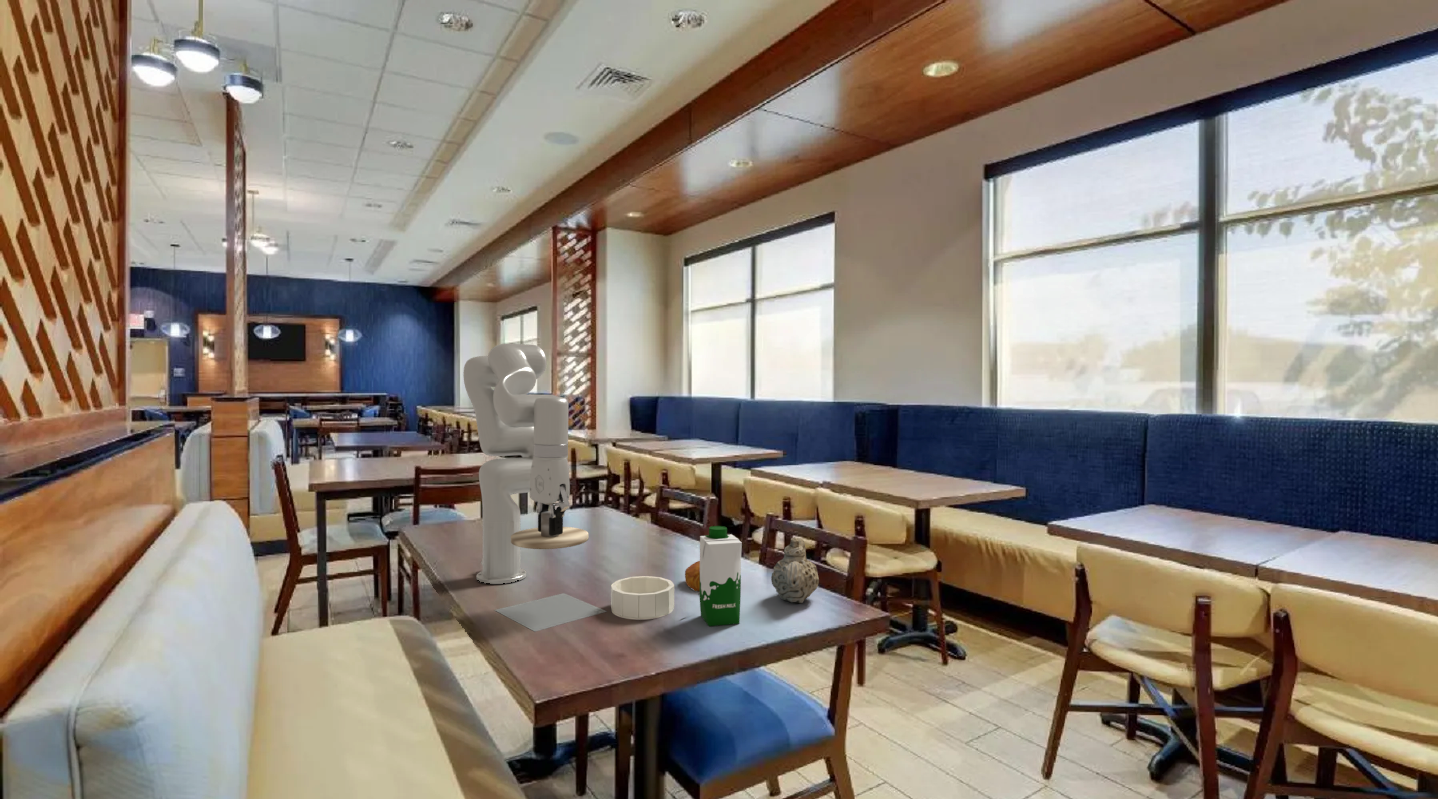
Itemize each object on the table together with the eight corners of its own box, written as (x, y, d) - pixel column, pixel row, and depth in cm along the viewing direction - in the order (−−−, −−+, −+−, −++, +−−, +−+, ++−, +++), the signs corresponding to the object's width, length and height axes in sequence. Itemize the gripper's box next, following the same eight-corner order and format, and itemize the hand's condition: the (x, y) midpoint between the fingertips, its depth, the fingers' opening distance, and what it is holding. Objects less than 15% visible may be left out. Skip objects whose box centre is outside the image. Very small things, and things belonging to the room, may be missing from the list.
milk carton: (733, 611, 156) (733, 524, 155) (744, 625, 147) (745, 533, 147) (695, 614, 154) (696, 526, 153) (705, 628, 145) (706, 535, 144)
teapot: (816, 615, 154) (817, 549, 154) (765, 611, 156) (766, 546, 156) (821, 587, 175) (822, 529, 174) (776, 584, 177) (777, 526, 177)
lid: (496, 538, 153) (496, 512, 153) (562, 527, 165) (562, 502, 165) (535, 553, 141) (535, 524, 141) (603, 540, 153) (603, 513, 153)
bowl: (599, 610, 156) (599, 584, 155) (647, 597, 165) (647, 572, 165) (637, 626, 146) (637, 599, 145) (685, 611, 155) (686, 585, 155)
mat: (494, 612, 154) (494, 610, 154) (563, 595, 166) (563, 593, 166) (534, 634, 141) (535, 631, 141) (606, 613, 153) (606, 611, 153)
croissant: (741, 586, 183) (742, 556, 184) (737, 596, 167) (738, 563, 168) (688, 582, 184) (690, 552, 185) (679, 592, 169) (680, 559, 170)
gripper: (517, 449, 156) (516, 528, 157) (556, 456, 144) (555, 542, 145) (546, 447, 161) (545, 524, 162) (586, 454, 149) (585, 536, 150)
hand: (550, 531), depth 153 cm, fingers closed on lid, 4 cm apart
